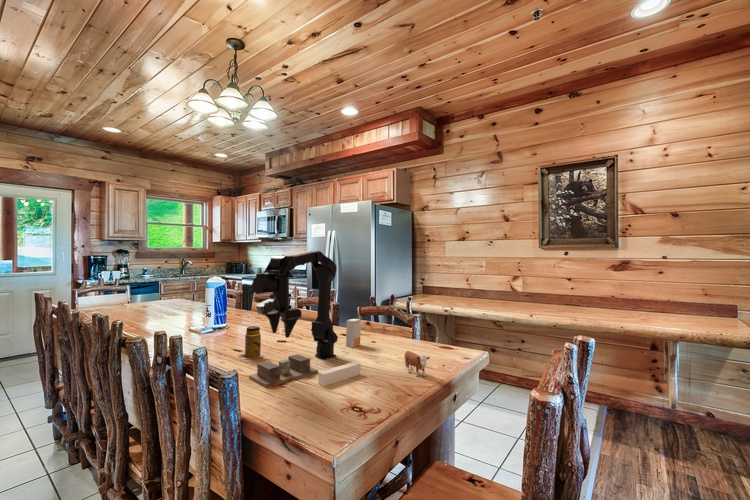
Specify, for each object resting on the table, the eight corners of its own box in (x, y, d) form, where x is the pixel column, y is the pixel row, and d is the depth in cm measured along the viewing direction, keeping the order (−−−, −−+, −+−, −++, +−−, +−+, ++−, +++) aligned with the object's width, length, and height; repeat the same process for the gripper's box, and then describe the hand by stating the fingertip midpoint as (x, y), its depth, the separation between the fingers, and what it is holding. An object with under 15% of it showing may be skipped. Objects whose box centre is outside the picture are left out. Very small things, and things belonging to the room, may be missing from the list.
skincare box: (353, 347, 158) (353, 321, 158) (345, 346, 160) (346, 320, 160) (360, 344, 163) (361, 319, 163) (353, 343, 165) (353, 318, 166)
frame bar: (354, 372, 125) (354, 361, 125) (360, 374, 123) (360, 363, 123) (318, 384, 114) (318, 372, 114) (323, 386, 112) (323, 374, 112)
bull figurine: (422, 382, 116) (422, 357, 116) (402, 369, 128) (402, 347, 128) (432, 380, 118) (433, 356, 118) (412, 368, 130) (412, 346, 130)
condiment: (263, 356, 143) (263, 327, 143) (241, 360, 138) (242, 330, 139) (258, 352, 149) (258, 324, 149) (237, 355, 144) (238, 327, 145)
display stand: (299, 365, 133) (299, 352, 133) (317, 372, 124) (318, 358, 124) (249, 378, 118) (249, 363, 118) (266, 387, 110) (266, 372, 110)
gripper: (247, 290, 124) (247, 334, 124) (272, 295, 111) (272, 344, 111) (275, 288, 132) (275, 329, 132) (302, 292, 118) (302, 338, 118)
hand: (280, 335), depth 123 cm, fingers open, 9 cm apart
